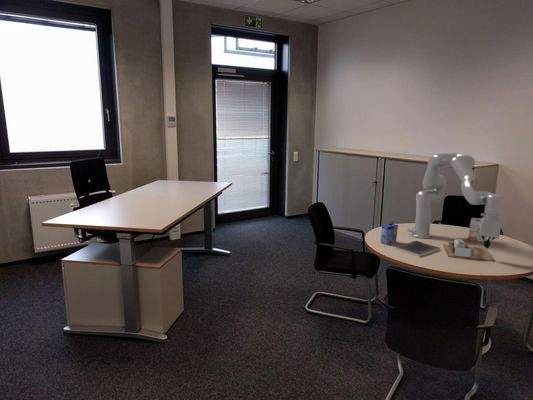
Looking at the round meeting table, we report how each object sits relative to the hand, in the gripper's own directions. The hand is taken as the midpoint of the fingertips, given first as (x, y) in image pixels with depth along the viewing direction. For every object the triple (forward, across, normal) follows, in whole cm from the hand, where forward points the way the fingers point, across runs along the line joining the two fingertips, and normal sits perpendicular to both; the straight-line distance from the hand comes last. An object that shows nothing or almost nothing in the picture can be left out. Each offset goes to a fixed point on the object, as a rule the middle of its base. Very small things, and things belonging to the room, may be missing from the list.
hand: (486, 247), depth 222 cm
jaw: (+7, -12, +11) cm, 18 cm away
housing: (+8, -7, +9) cm, 14 cm away
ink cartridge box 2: (+9, +4, +38) cm, 39 cm away
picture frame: (+9, -35, +6) cm, 37 cm away
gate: (+7, -11, -1) cm, 13 cm away
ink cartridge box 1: (+9, -52, +15) cm, 55 cm away
